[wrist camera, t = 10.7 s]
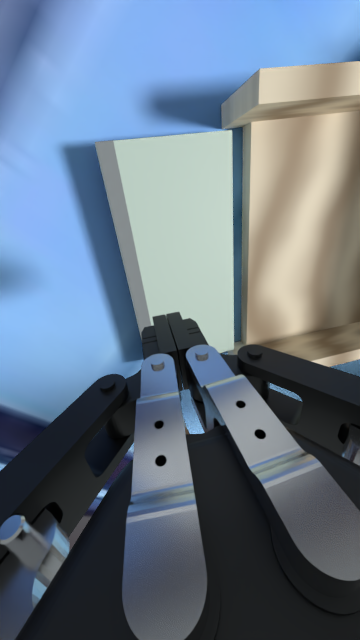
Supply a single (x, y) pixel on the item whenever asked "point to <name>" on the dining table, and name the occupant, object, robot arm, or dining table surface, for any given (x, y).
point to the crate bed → (300, 210)
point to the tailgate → (175, 227)
